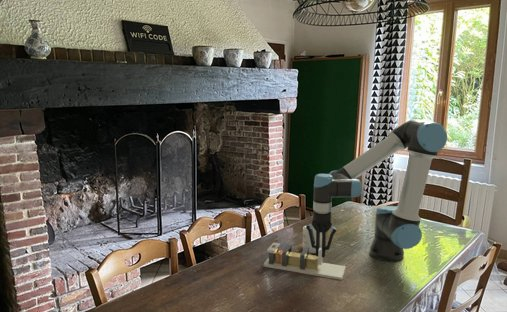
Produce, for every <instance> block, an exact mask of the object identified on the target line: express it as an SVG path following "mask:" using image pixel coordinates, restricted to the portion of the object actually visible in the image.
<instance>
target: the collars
mask: <svg viewBox="0 0 507 312" xmlns="http://www.w3.org/2000/svg"><path fill="white" fill-rule="evenodd" d="M280 247H281V243H279V242H272V243H271V244H270V246H269V247H268V248H267V252H266V253H268V258H269V264H274V253H275V252H276V251H277V250H280ZM292 247H293V245H291V244H287V245H286V246H285V247H284V249H282V250H283V251H282V266H285V267H286V266H287V254H288V252H293V251H292V250H293V249H292ZM300 253H301V254H300V269H302V270H305V257H306V255H307V254H308V255H310V253H309V248H307V247H305V248H304V249H303V248H302V251H301V252H300Z"/></svg>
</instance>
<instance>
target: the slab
mask: <svg viewBox="0 0 507 312" xmlns="http://www.w3.org/2000/svg"><path fill="white" fill-rule="evenodd" d="M263 267H264V268H271V269H276V270H281V271H289V272H293V273H300V274H305V275H311V276H315V277H316V276H317V277H323V278H328V279H334V280H339V281H342V280H343V278H344V274H345V272H346V268H347V267H346V266H345V265H340V264H333V263H328V262H327V263H326V262H322V265H319V267H318V269H312V268H306V267H305V270H302V269H300V266H294V265H288V264H287V266H286V267H285V266H282V263H276V262H274V264H269V257H268V258H267V259H266V261H265V262H264V263H263Z"/></svg>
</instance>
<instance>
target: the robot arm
mask: <svg viewBox="0 0 507 312" xmlns="http://www.w3.org/2000/svg"><path fill="white" fill-rule="evenodd" d="M447 140H448V133H447V130H446V129H445V127H444V126H443V125H442V124H440V123H438V122H435V121H433V120H424V119H421V118H420V119H419V118H414V119H411V120H408V121H406V122H404V123H402V124H401V125H399V126H398V127H396V128H394V129H393V130H392V131H390V132H389V134H388V136H387V137H385V138H384V139H383V140H381V141H380V142H378V143H377V144H375V145H373V146H372V147H371V148H369V149H368V150H366V151H364V153H362V154H360V155H359V156H357V157H356V158H355V159H353V160H352V161H350V162H349V163H347V164H345V165H344V166H342V167H341V168H340V169H337V170H332V171H330V172H329V173H317V174H315V176H314V181H313V202H312V203H313V205H312V208H313V209H312V210H313V211H312V221H311V223H308V224H307V225H305V226H306V228H307V230H308V231H309V236H310V241H311V246H312V248H315V249H316V253H315V256H317V257H318V265H322V263H324V262H323V260H324V259H323V258H325V257H326V251H328V250H330V248H331V246H332V245H331V244H332V242H333V238H334V235H335V233H336V232H337V230H338V228H337V227H335V226H333V223H332V207H333V206H332V204H333V203H332V202H333V201H332V199H333V198H357V197H360V196H361V195H362V190H363V185H362V182H361V180H360V179H359V177H361V176H362V175H364V174H365V173H367V172H368V171H369V170H371V169H372V168H375V166H377V165H379V164H380V163H382V162H383V161H385V160H387V158H390V157H391V156H393V155H394V154H395V153H397V152H398V151H404V150H405V149H407V152H408V154H409V157H408V162H407V166H406V171H405V175H404V179H403V181H402V182H403V183H402V186H401V191H400V194H399V199H398V204H397V206H393V205H391V206H390V205H389V206H388V205H384V206H383V205H382V206H379V207H377V208H376V211H375V221H374V222H375V224H374V226H375V227H374V237H373V240H372V242H371V245H370V248H369V253H370V255H371V256H372V257H374V258H375V259H378V260H381V261H386V262H397V261H401V260H403V259H404V258H405V257H404V256H405V252H404V250H409V249H413V248H414V247H416V246H418V244H420V242H421V241H422V237H423V233H422V230H421V227H420V223H421V220H422V219H421V218H422V217H420V216H419V213H420V212H419V211H420V207H421V204H422V200H423V196H424V192H425V189H426V184H427V180H428V176H429V172H430V168H431V164H432V161H433V159H435V158H437V156H438V153H439V152H440V151H441V150H442V149H444V147H445V145H446V144H447V142H448V141H447ZM312 226H313V227H314V229H315V230H316V244H315V239H314V234H313V230H312V228H313V227H312ZM328 231H330V232H331V233H330V235H329V238H328V242H327V233H328ZM320 232H321V233H322V239H321V248H319V247H320Z"/></svg>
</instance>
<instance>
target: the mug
mask: <svg viewBox="0 0 507 312" xmlns="http://www.w3.org/2000/svg"><path fill="white" fill-rule="evenodd" d="M306 226H307V225H304V226H303V227H302V250H303V249H304V248H305V247H307V248H309V254H311V255H313V254H316V249H315V248H312V246H311V241H310V236H309V231H308V230H307V228H306ZM312 227H313V226H312ZM312 230H313V234H314V239H315V244H316V230H315V229H314V227H313V228H312ZM319 248H322V233H321V232H320V247H319Z"/></svg>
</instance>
